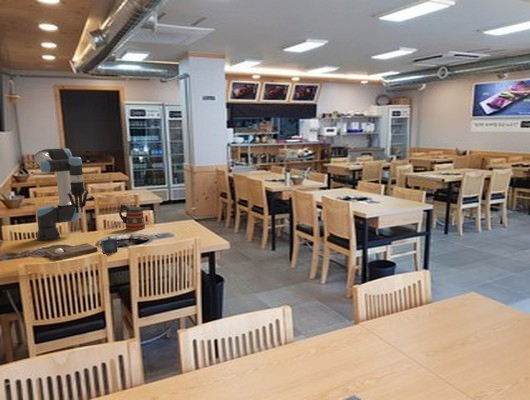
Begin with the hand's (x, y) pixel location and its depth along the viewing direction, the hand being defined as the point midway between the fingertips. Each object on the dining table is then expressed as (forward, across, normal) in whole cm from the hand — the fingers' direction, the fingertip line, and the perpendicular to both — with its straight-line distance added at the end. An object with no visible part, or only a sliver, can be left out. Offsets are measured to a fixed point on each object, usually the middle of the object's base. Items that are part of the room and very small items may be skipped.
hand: (79, 217), depth 265 cm
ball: (+19, -16, -3) cm, 25 cm away
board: (+22, -8, -3) cm, 23 cm away
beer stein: (+23, +52, +30) cm, 64 cm away
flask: (+22, +9, -20) cm, 31 cm away
